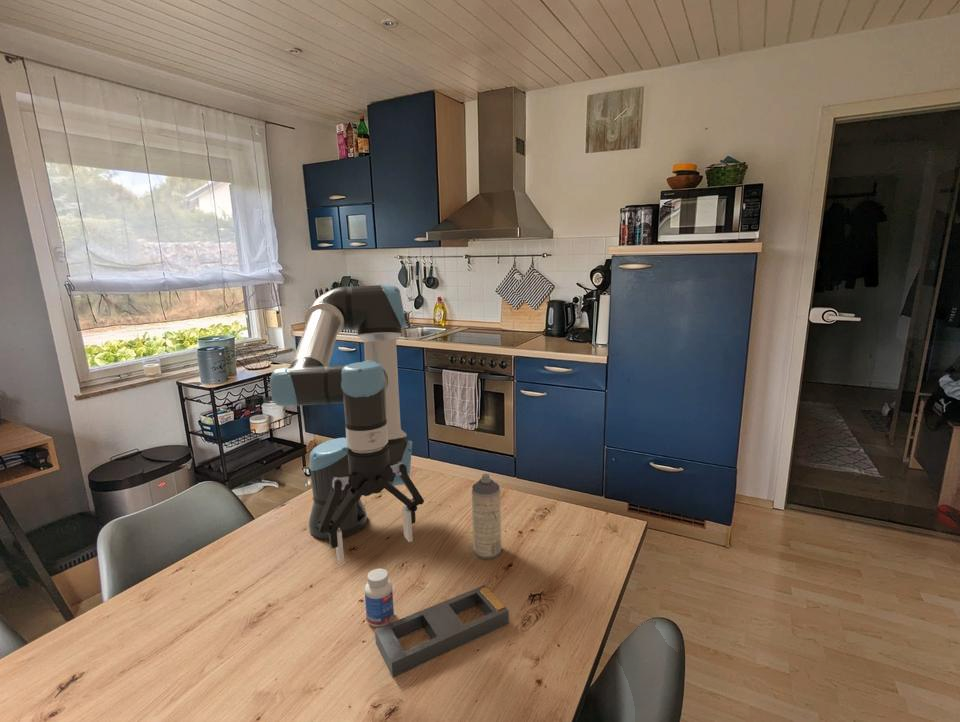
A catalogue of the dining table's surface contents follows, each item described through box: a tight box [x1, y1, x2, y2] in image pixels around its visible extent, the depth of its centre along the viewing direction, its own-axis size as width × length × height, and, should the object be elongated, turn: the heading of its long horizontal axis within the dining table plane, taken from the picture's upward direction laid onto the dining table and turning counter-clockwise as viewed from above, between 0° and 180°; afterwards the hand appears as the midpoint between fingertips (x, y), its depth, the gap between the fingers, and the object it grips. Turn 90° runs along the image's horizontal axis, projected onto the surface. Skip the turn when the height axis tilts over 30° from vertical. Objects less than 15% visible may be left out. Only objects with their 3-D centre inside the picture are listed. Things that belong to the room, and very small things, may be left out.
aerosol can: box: [471, 473, 502, 560], centre depth 117 cm, size 7×7×20 cm
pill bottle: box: [364, 568, 395, 628], centre depth 97 cm, size 6×5×10 cm
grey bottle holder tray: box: [374, 584, 510, 678], centre depth 93 cm, size 9×24×3 cm, turn 120°
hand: (375, 549), depth 95 cm, fingers open, 13 cm apart
